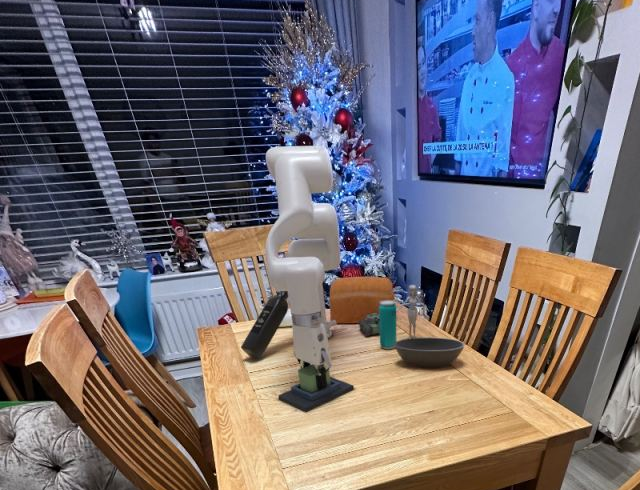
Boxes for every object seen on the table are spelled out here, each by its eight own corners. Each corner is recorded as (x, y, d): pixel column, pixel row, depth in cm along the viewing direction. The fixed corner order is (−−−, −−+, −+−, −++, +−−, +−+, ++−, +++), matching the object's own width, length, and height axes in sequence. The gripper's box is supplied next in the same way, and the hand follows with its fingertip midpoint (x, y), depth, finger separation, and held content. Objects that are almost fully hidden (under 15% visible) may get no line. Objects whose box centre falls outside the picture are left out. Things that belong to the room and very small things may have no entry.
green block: (319, 380, 125) (317, 362, 121) (331, 385, 122) (329, 366, 119) (300, 388, 121) (297, 369, 117) (312, 393, 118) (309, 374, 115)
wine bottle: (250, 350, 139) (293, 275, 143) (239, 347, 142) (281, 273, 146) (261, 360, 144) (302, 287, 148) (249, 357, 147) (290, 285, 151)
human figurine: (396, 341, 155) (395, 287, 144) (395, 337, 158) (394, 284, 147) (429, 339, 156) (431, 285, 144) (427, 336, 159) (429, 283, 147)
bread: (394, 323, 171) (394, 280, 161) (329, 324, 172) (325, 282, 162) (395, 313, 182) (394, 272, 172) (333, 314, 183) (330, 274, 173)
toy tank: (383, 326, 169) (383, 307, 165) (392, 335, 160) (392, 316, 156) (358, 329, 167) (357, 310, 163) (366, 338, 158) (365, 319, 154)
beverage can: (399, 345, 152) (398, 300, 142) (392, 351, 148) (391, 305, 138) (384, 343, 154) (383, 299, 144) (377, 348, 150) (375, 303, 140)
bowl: (463, 371, 132) (465, 351, 129) (392, 370, 135) (392, 350, 131) (462, 356, 142) (464, 337, 138) (396, 355, 144) (396, 337, 140)
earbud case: (271, 321, 178) (269, 308, 174) (303, 319, 179) (301, 306, 175) (269, 329, 170) (267, 315, 166) (302, 327, 171) (300, 313, 167)
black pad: (326, 378, 131) (325, 369, 129) (353, 389, 125) (353, 380, 123) (278, 399, 121) (276, 390, 119) (306, 411, 114) (304, 402, 113)
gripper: (340, 320, 107) (346, 388, 119) (297, 309, 116) (306, 373, 128) (317, 328, 103) (325, 398, 114) (274, 315, 112) (286, 381, 124)
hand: (315, 384), depth 121 cm, fingers closed on green block, 5 cm apart
